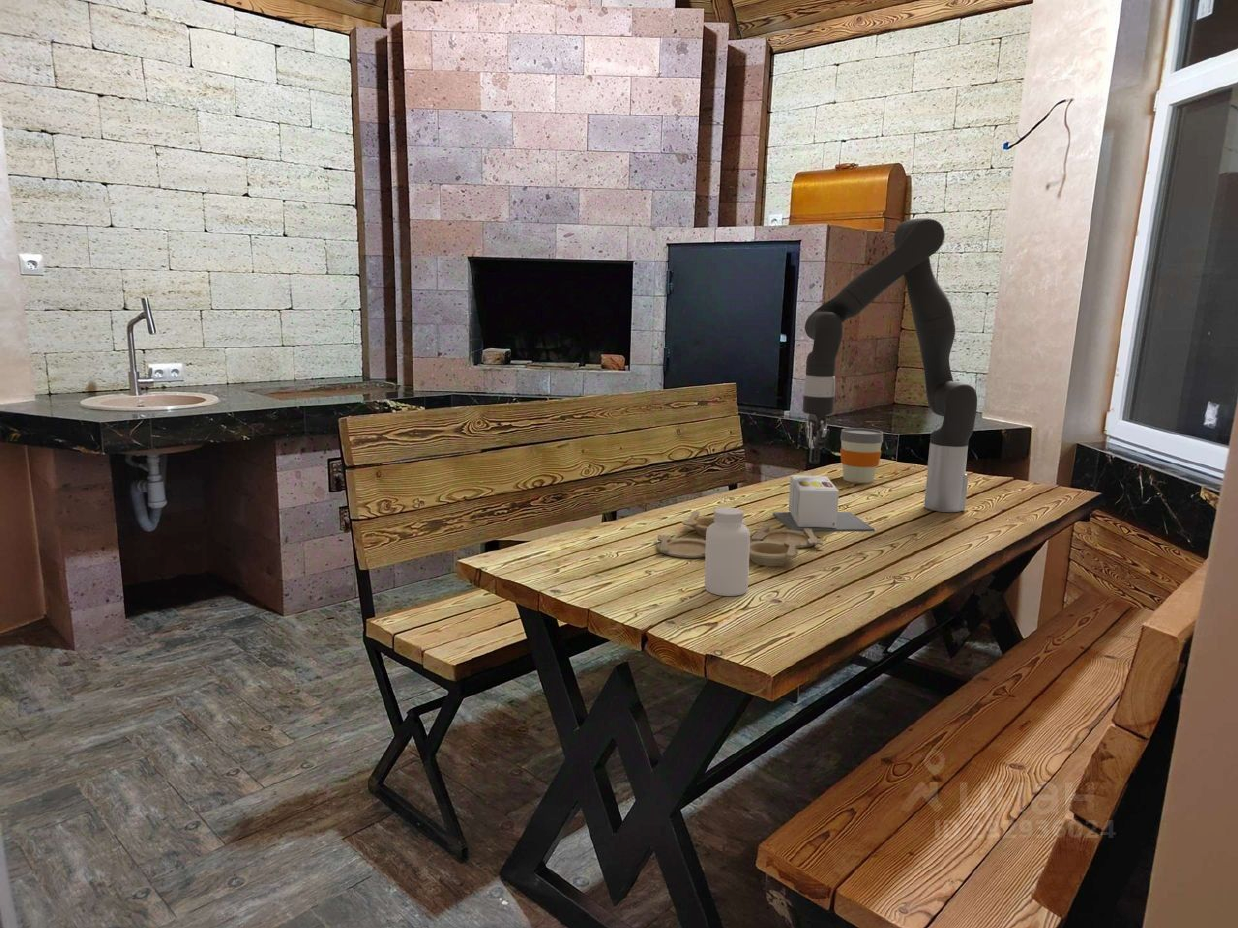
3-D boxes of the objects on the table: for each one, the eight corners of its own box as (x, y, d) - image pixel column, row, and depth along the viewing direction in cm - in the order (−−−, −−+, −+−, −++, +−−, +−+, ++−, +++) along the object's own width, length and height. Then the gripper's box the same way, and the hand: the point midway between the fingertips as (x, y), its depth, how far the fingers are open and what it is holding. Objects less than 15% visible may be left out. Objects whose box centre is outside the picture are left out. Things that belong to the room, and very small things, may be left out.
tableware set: (827, 538, 186) (828, 521, 185) (813, 577, 159) (814, 557, 158) (678, 522, 197) (679, 506, 197) (642, 556, 170) (642, 537, 169)
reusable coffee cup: (853, 473, 258) (856, 426, 255) (888, 480, 249) (892, 432, 246) (828, 478, 250) (832, 430, 247) (864, 485, 241) (868, 435, 238)
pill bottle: (700, 582, 154) (703, 505, 151) (742, 582, 154) (746, 505, 151) (708, 597, 146) (711, 516, 143) (752, 597, 146) (756, 516, 144)
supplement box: (827, 475, 206) (841, 490, 190) (825, 511, 208) (838, 529, 191) (789, 474, 207) (799, 489, 190) (787, 510, 208) (797, 527, 192)
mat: (849, 513, 208) (849, 512, 208) (874, 530, 192) (874, 529, 192) (772, 513, 206) (772, 512, 206) (791, 531, 190) (791, 529, 190)
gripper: (843, 397, 195) (838, 468, 198) (825, 391, 208) (820, 458, 211) (812, 397, 194) (807, 468, 198) (796, 391, 207) (792, 458, 211)
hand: (814, 463), depth 205 cm, fingers closed
